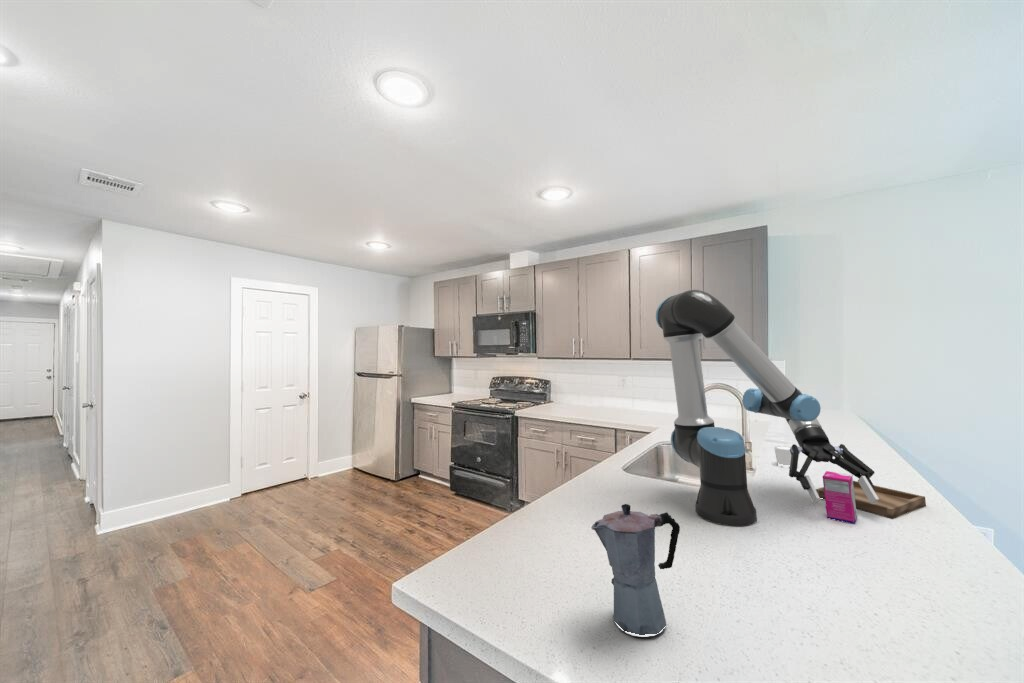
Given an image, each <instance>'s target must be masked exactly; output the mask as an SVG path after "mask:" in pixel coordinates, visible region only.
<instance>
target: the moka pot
mask: <svg viewBox="0 0 1024 683" xmlns="http://www.w3.org/2000/svg"><path fill="white" fill-rule="evenodd" d="M620 507H621V509H622V510H617V511H613V512H610V513H607V514H604V515H603V517H602V519H598V520H596V521H595V523H593V524H592V525H591V530H593V531H594V532H595V533H596V535H597V536H598V539H599V541H600V542H601V544H602V546H603V547H604V549H605V551H606V556H607V560H608V563H609V566H610V567H611V571H612V575H613V578H611V584H612V585H613V622H614V621H615V622H616V623H617V624H618V625H619V626H620V627H621V628H622V629H623V630H624V631H627V632H631V633H635V634H639V635H645V634H657V633H659V632H660V631H661V630H662V629H663V628H664V627H665V626H666V627H667V620H666V617H665V616H666V615H665V612H664V608H663V602H662V600H661V596H660V595H661V594H660V593H659V586H658V582H657V579H656V565H655V560H656V558H655V557H656V556H655V555H656V554H655V553H656V552H655V551H656V537H655V536H656V528H657V527H658V528H660V527H663V526H664V525H666V524H669V525H670V526H671V527H672V528H671V531H670V540H669V546H668V553H667V558H666V560H665V561H664V562H660V563H658V565H657V566H658V567H659V569H660V570H665V569H670V568H673V562H674V560H675V559H674V558H675V554H676V548H677V544H678V539H679V534H680V531H681V530H680V529H681V526H680V524H679V523H678V522H677V521H676V519H675V518H673V517H672V515H671V514H669V513H668V511H666V512H664V513H659V514H658V513H656V514H655V513H653V514H649V515H648V514H646V513H644V512H641V511H633V510H632V511H631V505H630V504H627V503H624V504H621V506H620ZM666 627H665V628H666Z"/></svg>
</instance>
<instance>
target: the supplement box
mask: <svg viewBox="0 0 1024 683" xmlns="http://www.w3.org/2000/svg"><path fill="white" fill-rule="evenodd" d="M853 476H854V475H853V474H851V473H845V472H835V471H830V470H826V471H825V472H824V474H823V475H822V483H823V487H824V494H825V500H824V502H825V512H826V518H827V519H828V518H830V519H829V520H832V519H835V520H834V521H837V520H839V521H838V522H842V521H843V523H846V524H851V525H855V524H856V521H857V519H858V513H857V509H856V503H855V494H854V485H853V481H854V479H853V478H854V477H853Z"/></svg>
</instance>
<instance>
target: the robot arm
mask: <svg viewBox="0 0 1024 683" xmlns="http://www.w3.org/2000/svg"><path fill="white" fill-rule="evenodd" d="M655 321H656V324H657V325H658V327H660V329H661V330H662V335H663V339H664V340H666V341H667V342H668V343H669V349H670V350H669V352H670V358H671V365H672V367H671V368H672V375H673V383H674V391H675V399H676V408H677V418H676V419H675V420H674V422H673V424H674V428H673V431H672V432H671V435H670V444H671V448H672V449H673V451H674V452H675V453H676V454H677V456H679V457H680V458H681V459H682V460H684V461H686V462H687V463H690V464H692V465H694V466H696V467H698V468H699V477H700V478H699V480H700V486H699V489H698V493H697V497H696V501H695V504H694V508H695V513H696V515H697V516H698V517H700V518H702V519H703V520H706V521H708V522H710V523H714V524H718V525H724V526H731V527H744V526H751V525H753V524H755V523H756V522H758V516H757V515H758V513H757V509H756V507H755V506H754V503H753V500H752V497H751V495H750V493H749V492H750V491H749V489H748V476H747V460H746V452H747V449H746V446H745V441H744V440H745V439H744V437H743V436H742V435H741V434H740V433H739V432H737V431H736V430H733V429H729V428H724V427H718V426H715V421H714V419H713V418H712V417H710V416H709V414H708V408H707V400H706V399H707V398H706V392H705V391H706V390H705V382H704V373H703V366H702V360H701V359H702V358H701V352H700V344H699V343H700V342H699V341H700V338H701V337H702V336H704V338H705V339H707V340H708V339H709V340H712V341H713V342H715V344H716V345H717V346H718V347H719V348H720V349H721V350H722V351H723V352H724V353H725V355H726V356H727V357H729V359H730V360H731V361H732V362H733V363H734V364H735V365H736V366H737V367H738V368H739V369H740V371H741V372H742V373H744V374H745V376H746V377H747V378H748V379H749V380H750V381H751V382H752V383H753V384H754V385H755V387H756V388H748V389H746V390H745V392H744V393H743V395H742V406H743V408H744V409H745V410H746V411H748V412H752V413H755V414H763V415H769V416H774V417H778V418H784V420H786V422H787V424H788V426H789V428H790V430H791V432H792V434H793V436H794V437H795V440H796V442H797V444H798V445H796V444H792V445H791V446H790V447H791V448H790V452H791V463H790V468H789V472H788V476H789V477H790V478H795V480H796V481H798V482H799V483H800V485H801V487H802V489H803V490H805V491H807V492H808V495H809V497H810V499H811V501H812V503H813V504H817V503H818V501H819V500H821V499H820V497H819V495H818V493H817V491H816V489H817V488H816V487H815V485H814V483H813V482H812V479H811V477H810V475H808V474H807V471H808V469H809V467H810V465H811V464H812V462H813V461H814V462H815V463H821V462H824V463H829V462H830V463H831V464H832V465H837V466H838V467H839V468H841V469H843V470H844V471H846V472H848V474H852V476H854V477H856V478H857V479H858V480H857V482H859V484H860V486H861V488H862V489H863V491H864V493H865V494H866V496H867V498H868V500H869V501H870V503H871V504H875V503H876V502H877V501H878V500H879V498H878V496H877V495H876V493H875V492H874V490H873V489H874V488H875V487H874V483H873V482H872V480H871V478H872V477H873V475H875V471H874V470H873V469H872V468H870V466H868V465H867V464H866V463H865V462H864V461H862V460H861V459H860V458H858V457H857V456H856V455H855V454H853V453H852V452H851V451H850V450H849V449H848V448H847V447H846V445H845V444H843V443H840V444H839V445H837V446H833V444H831V442H830V440H829V437H828V435H827V434H826V432H825V430H824V429H823V427H822V424H821V423H820V421H819V420H818V419H817V418H818V417H819V416H820V413H821V404H820V402H819V400H818V399H817V398H816V397H814V396H812V395H809V394H806V393H803V392H802V391H801V390H800V389H798V388H797V387H796V386H795V385H794V384H793V383H792V382H791V380H790V379H789V378H788V377H787V376H786V375H785V374H784V373H783V372H782V371H781V370H780V369H779V368H778V366H776V364H774V362H772V360H771V359H770V358H769V357H768V355H766V354H765V353H764V352H763V350H762V349H760V348H759V346H758V344H756V343H755V342H754V341H753V340H752V339H751V338H750V337H749V336H748V335H747V333H746V332H745V331H744V330H743V329H742V328H741V327H740V326H739V325H738V324H737V322H736V316H735V315H734V314H733V312H732V311H730V310H729V309H728V307H726V306H725V304H723V302H721V301H720V300H719V299H717V298H716V297H715V296H714V295H712V294H710V293H709V292H705V291H704V290H699V289H688V290H687V291H683V292H681V293H677V294H674V295H671V296H669V297H667V298H665V300H663V301H662V302H660V304H659V305H658V307H657V309H656V311H655ZM801 453H802V454H804V455H805V456H806V459H805V461H804V462H803V464H802V466H801V468H800V469H799V470H800V471H798V465H799V464H798V463H799V456H800V454H801ZM806 474H807V475H806Z"/></svg>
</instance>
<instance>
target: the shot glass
mask: <svg viewBox="0 0 1024 683" xmlns="http://www.w3.org/2000/svg"><path fill="white" fill-rule="evenodd" d="M791 447H792V446H785V445H783V446H781V445H778V446H774V453H775V459H776V464H777V463H779V464H783V465H790V463H791V452H790V448H791Z"/></svg>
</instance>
